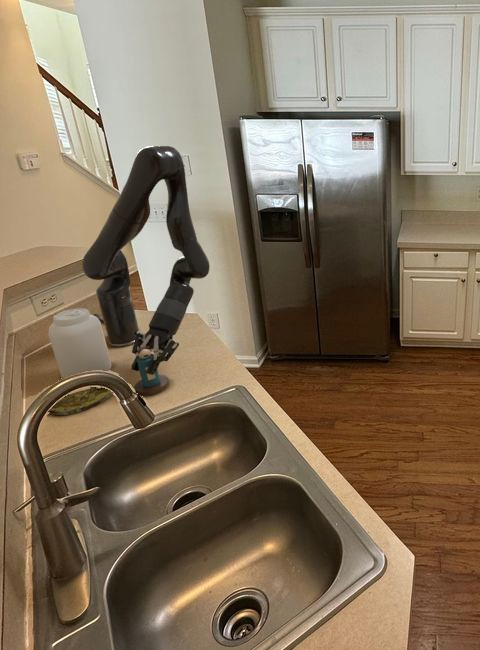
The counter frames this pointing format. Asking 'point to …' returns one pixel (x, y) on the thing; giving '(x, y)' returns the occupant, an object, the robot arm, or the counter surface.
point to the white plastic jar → (78, 342)
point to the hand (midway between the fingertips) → (142, 372)
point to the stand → (154, 389)
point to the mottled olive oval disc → (80, 401)
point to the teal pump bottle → (146, 367)
